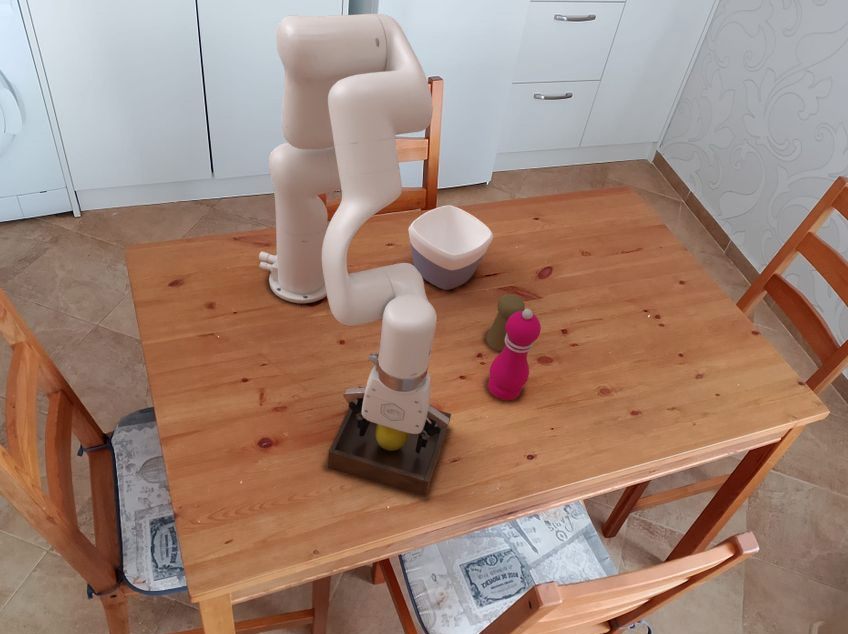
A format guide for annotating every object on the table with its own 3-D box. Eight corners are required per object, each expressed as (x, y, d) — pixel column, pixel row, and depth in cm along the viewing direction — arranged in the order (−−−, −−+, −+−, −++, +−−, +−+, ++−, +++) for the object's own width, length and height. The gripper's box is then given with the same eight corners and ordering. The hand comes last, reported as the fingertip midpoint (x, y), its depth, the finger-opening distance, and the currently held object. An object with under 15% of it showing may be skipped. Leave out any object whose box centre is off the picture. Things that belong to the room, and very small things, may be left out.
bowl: (493, 274, 159) (503, 234, 151) (446, 305, 150) (454, 263, 142) (441, 239, 165) (449, 198, 157) (393, 266, 156) (398, 224, 148)
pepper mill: (497, 407, 133) (521, 329, 118) (478, 378, 137) (499, 300, 123) (530, 396, 136) (557, 320, 121) (510, 369, 140) (535, 292, 126)
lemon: (411, 440, 124) (416, 410, 119) (398, 464, 121) (403, 435, 115) (381, 428, 125) (385, 398, 119) (368, 452, 121) (371, 423, 116)
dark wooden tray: (327, 467, 118) (328, 451, 115) (357, 402, 129) (358, 386, 126) (425, 496, 117) (428, 482, 114) (447, 429, 128) (451, 413, 124)
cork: (513, 355, 143) (526, 314, 135) (483, 347, 143) (494, 306, 135) (518, 334, 147) (530, 294, 139) (489, 326, 147) (499, 286, 139)
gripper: (338, 370, 107) (334, 440, 119) (451, 403, 105) (436, 471, 118) (355, 336, 112) (350, 407, 124) (463, 367, 111) (447, 436, 123)
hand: (391, 438), depth 121 cm, fingers open, 9 cm apart
